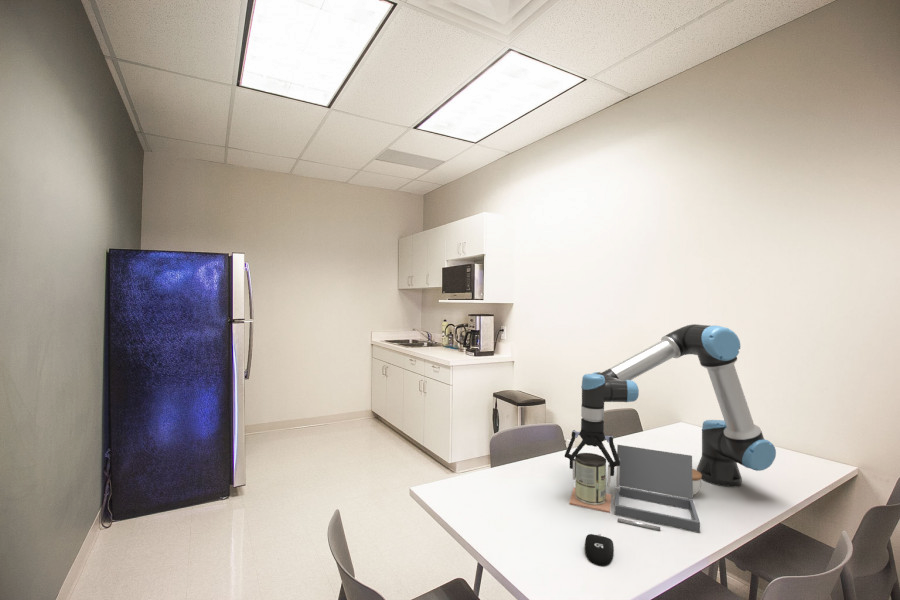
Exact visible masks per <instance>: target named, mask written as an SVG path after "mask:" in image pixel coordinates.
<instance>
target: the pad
mask: <svg viewBox="0 0 900 600" xmlns="http://www.w3.org/2000/svg"><path fill="white" fill-rule="evenodd" d="M575 490H576V486H575V487H573V490H572V493H571V496H570V500H569V503H568V504H569V505H571V506H576V507H580V508H584V509H585V508H586V509H590V510H594V511H600V512H605V513H608V514H610V513H611V506H612V505H611V503H612V494H611V493H607V492H606V501H605V503H603V504H601V505H591V504H586V503H583V502H581V501H579V500H578V499H577V498H576V497H575Z"/></svg>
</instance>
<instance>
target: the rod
mask: <svg viewBox="0 0 900 600" xmlns="http://www.w3.org/2000/svg"><path fill="white" fill-rule="evenodd" d="M617 522H619V523H623V524H627V525H632V526H637V527H642V528H645V529H650V530H655V531H659V532H660V531H661V527H660V526H658V525H657V526H656V525H652V524H647V523H643V522H638V521H633V520H629V519H623V518H619V517H618V518H617Z"/></svg>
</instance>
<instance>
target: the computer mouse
mask: <svg viewBox="0 0 900 600" xmlns="http://www.w3.org/2000/svg"><path fill="white" fill-rule="evenodd" d="M614 551H615V546H614V542H613V540H612V539H611V538H609V537H607V536H604V535H603V536H602V534H601V533H598V534H592V533H588V534H587V535H586V536H585V541H584V552H585V556H586V558H587V560H588V561H589V562H590V563H591V564H593V565H595V566H598V567H607V566H609V565H610V564H611V562H612V561H613V557H614V553H615V552H614Z"/></svg>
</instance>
